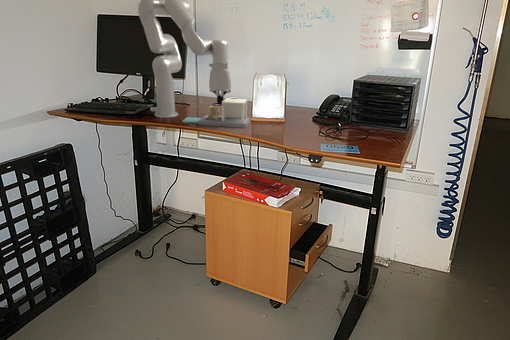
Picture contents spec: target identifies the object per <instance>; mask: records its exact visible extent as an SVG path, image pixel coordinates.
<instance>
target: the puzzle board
mask: <svg viewBox="0 0 510 340" xmlns="http://www.w3.org/2000/svg"><path fill="white" fill-rule="evenodd" d="M201 118H202V119H200V120H199V124H198V126H211V127H226V128H240V129H241V128H242V129H246V128H247V127H248V126H249V124H250V122H251V117H248V116H247V119H246V118H244V123H242V118H230V117H226V115H224V121H222V115H219V121H218V120H208V114H206V115H204V116H203V117H201Z"/></svg>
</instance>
